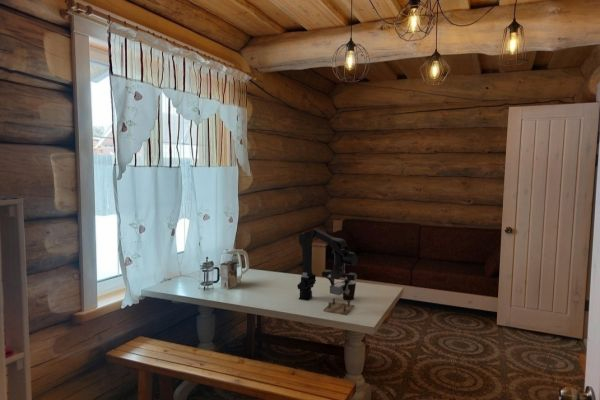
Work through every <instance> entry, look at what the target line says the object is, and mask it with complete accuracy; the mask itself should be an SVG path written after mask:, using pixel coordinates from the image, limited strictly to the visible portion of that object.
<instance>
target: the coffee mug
mask: <svg viewBox="0 0 600 400" xmlns="http://www.w3.org/2000/svg"><path fill="white" fill-rule="evenodd" d="M341 282H343V283H345V281H344V280H342V281H341ZM356 284H357V282H356V281H355V280H354V281H352V280H351V281H349V283H348V291H346V292H345V293H343V294H342V299H343V300H344V301H353V300H354V299H355V295H356V292H355V291H356Z"/></svg>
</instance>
